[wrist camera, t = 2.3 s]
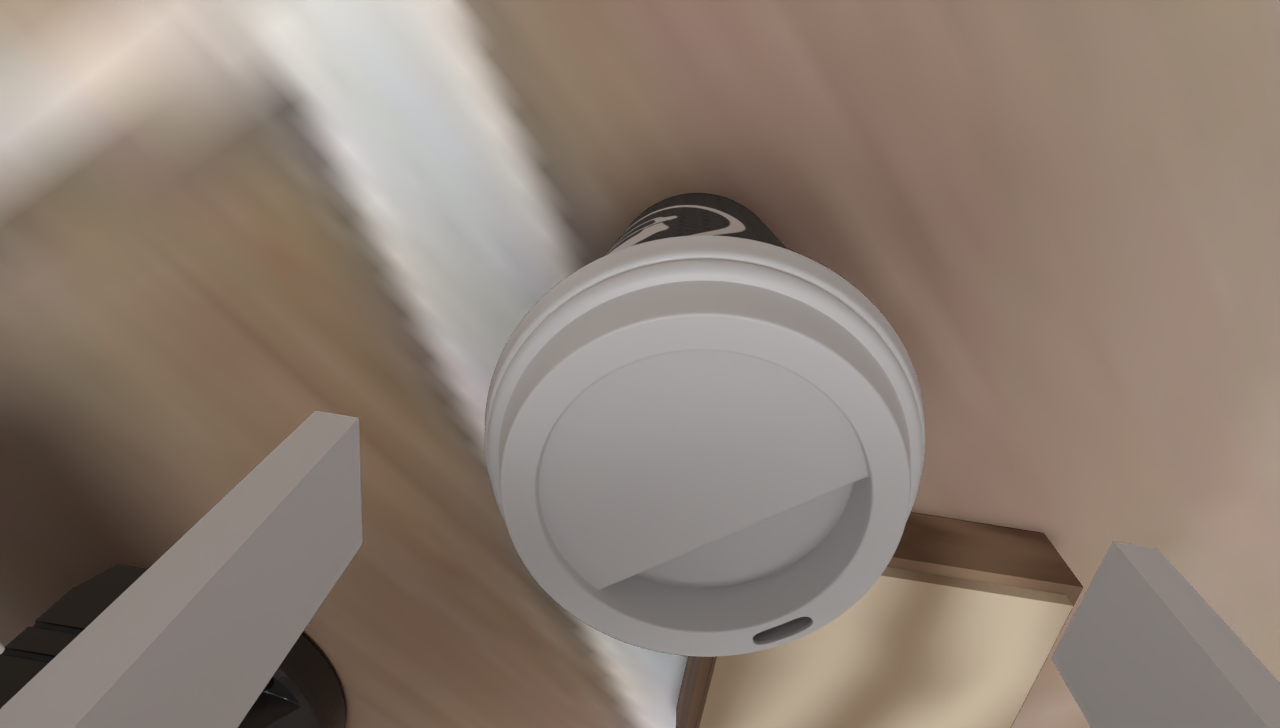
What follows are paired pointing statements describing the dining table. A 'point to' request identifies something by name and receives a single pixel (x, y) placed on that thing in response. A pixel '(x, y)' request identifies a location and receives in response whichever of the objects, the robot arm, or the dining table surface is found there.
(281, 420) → the dining table surface
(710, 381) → the coffee cup
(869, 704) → the pedestal
